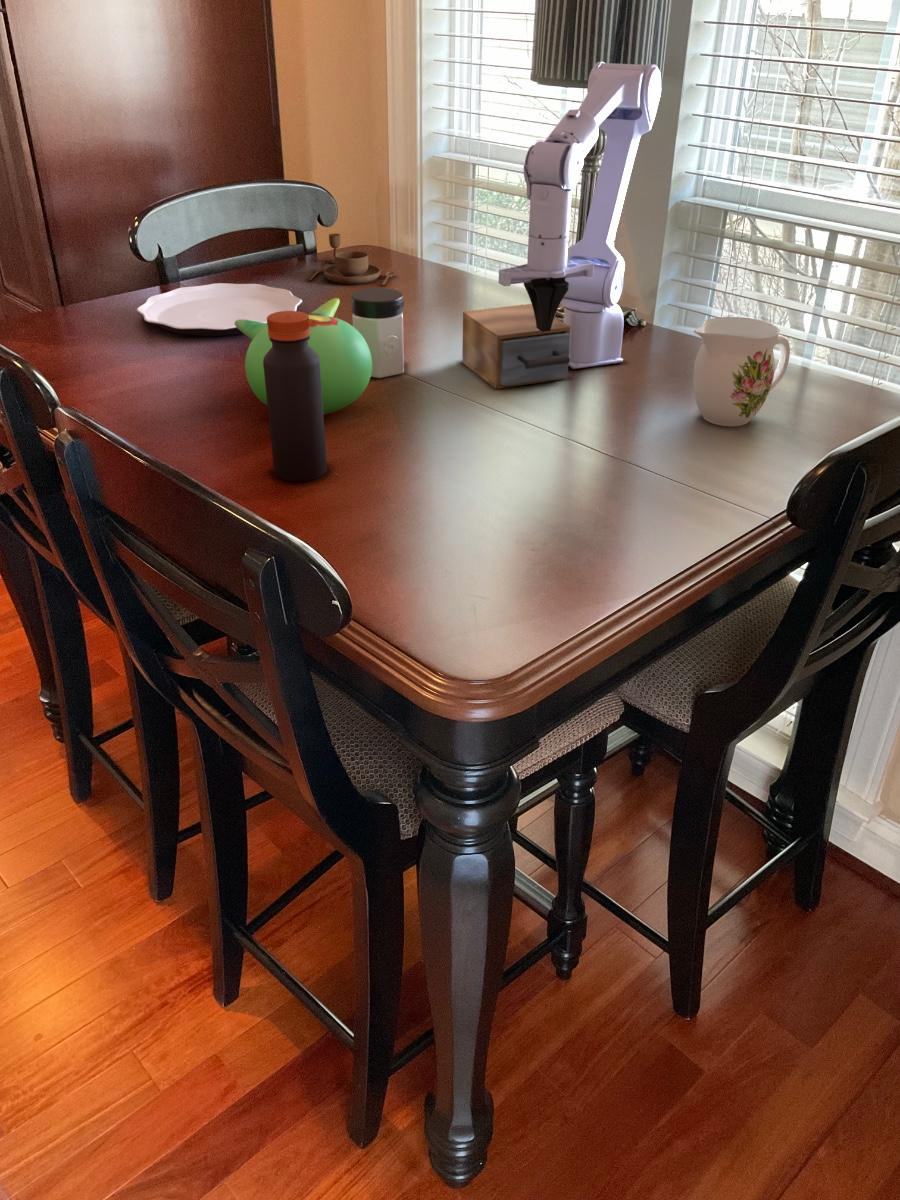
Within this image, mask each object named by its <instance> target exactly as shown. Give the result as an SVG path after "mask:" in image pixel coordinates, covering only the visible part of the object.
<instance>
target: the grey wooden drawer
mask: <svg viewBox="0 0 900 1200" xmlns="http://www.w3.org/2000/svg"><path fill="white" fill-rule="evenodd" d="M535 336H536V337H528V338H520V339H512V340H506V339H502V340H501V364H500V384H501V385H503V386H505V385H512V384H519V383H526V382H533V381H540V380H547V379H554V378H560V377H567V378H568V372H569V366H568V363H569V362H570V357H569V346H570V334H568V333H559V332H557V333H549V334H541V335H535Z"/></svg>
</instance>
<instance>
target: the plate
mask: <svg viewBox="0 0 900 1200" xmlns="http://www.w3.org/2000/svg"><path fill="white" fill-rule="evenodd" d="M302 303H303V299H301V298H299V297H298V296H295V295H293V293H292V291H290V290H289V289H286V288H279V287H274V286H267V285H264V284H261V283H225V282H224V283H223V282H217V283H210V284H204V285H196V286H195V285H194V286H184V287H183V286H182V287H179V288H178V287H177V288H175V289H173V290H169V291H168V292H163V293H159V294H155V295H152V296H150V297H148V298H146V301H145V303H143V304H142V305H140V306H139V307H137V308H136V312H137V313H138V314H139V315H141V316H142V317H143V320H144V322H146V323H148V324H150V325H154V326H156V327H160V328H162V329H163V330H167V331H169V332H172V333H175V334H181V335H187V336H198V337H199V336H200V337H219V336H220V337H221V336H223V337H225V336H235V335H242V334H244V333H243V332H241V331H240V330H239V329H238V328H237V327H236V326H235V324H234V323H235V321H236V320H239V319H245V320H251V321H256V322H261V323H265V324H267V317H268V316H269V315H270V314H273V313H276V312H281V311H298V307H299V306H301V304H302Z"/></svg>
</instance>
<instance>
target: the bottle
mask: <svg viewBox="0 0 900 1200" xmlns="http://www.w3.org/2000/svg"><path fill="white" fill-rule="evenodd" d="M307 314H308V313H306V312H304V311H299V310H296V311H281V312H276V313H273V314H270V315H269V316H268V317H267V325H268V336H269V340H270V341H271V342H272V348H271V349H270V350H269V351H268V353H267V354H266V355H265V356H264V360H263V366H264V376H265V386H266V396H267V405H266V406H267V415H268V424H269V434H270V444H271V454H272V463H273V464H272V465H273V472H274V474H275V476H276V477H278V478H279V479H281V480H284V481H287V482H293V483H300V482H301V483H302V482H309V481H313V480H316V479H319V478H321V477H322V476H323V475H324V474H325V473H326V472H327V470H328V464H327V463H328V461H327V448H326V446H327V445H326V434H325V419H324V417H325V416H324V415H323V402H322V388H321V373H320V358H319V355H318V354H317V353H316V352H315V351H314V350H313V349H312V348H311V347H310V346H308V340H309V339H310V336H309V335H310V326H309V316H308V315H307Z"/></svg>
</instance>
